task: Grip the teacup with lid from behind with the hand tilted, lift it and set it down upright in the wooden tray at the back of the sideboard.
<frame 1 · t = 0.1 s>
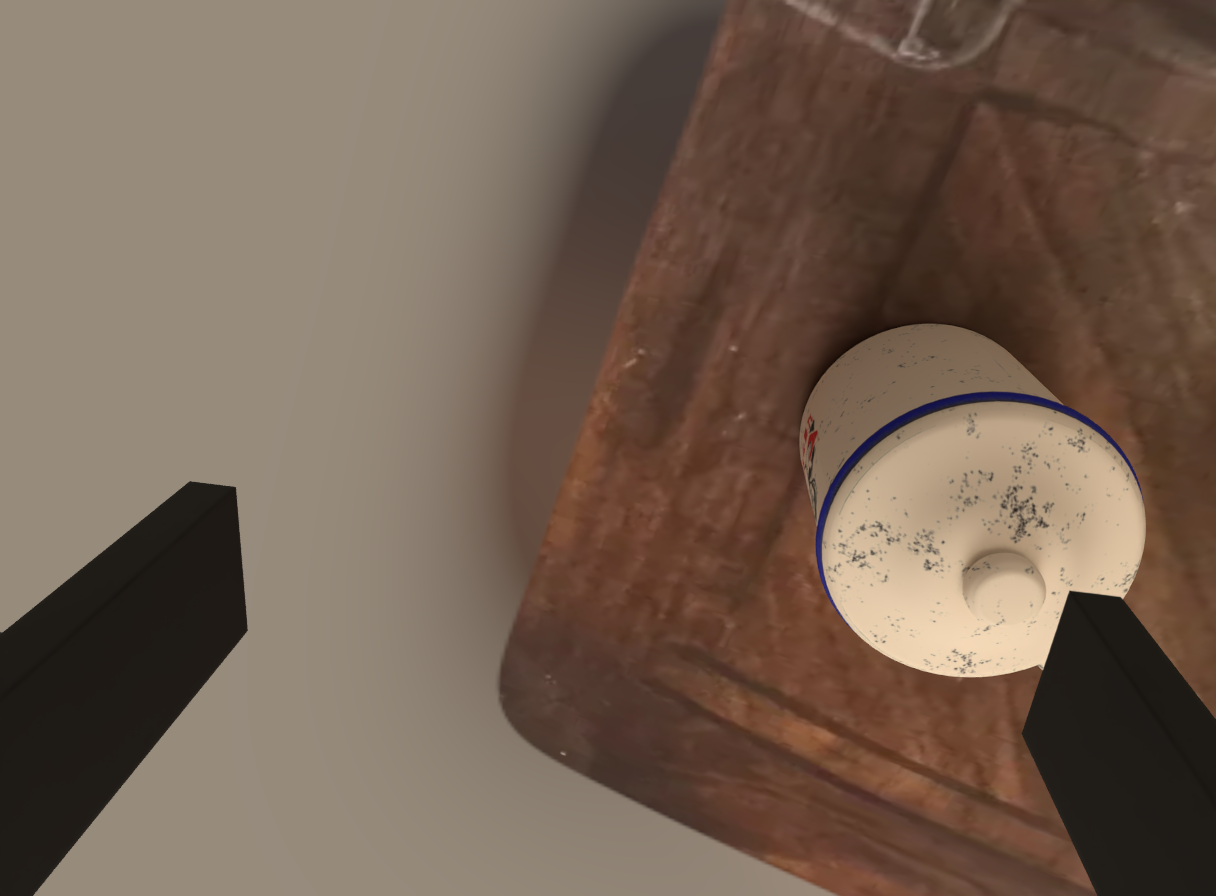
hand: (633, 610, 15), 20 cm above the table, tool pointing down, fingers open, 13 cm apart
teacup with lid: (933, 460, 35), on the table
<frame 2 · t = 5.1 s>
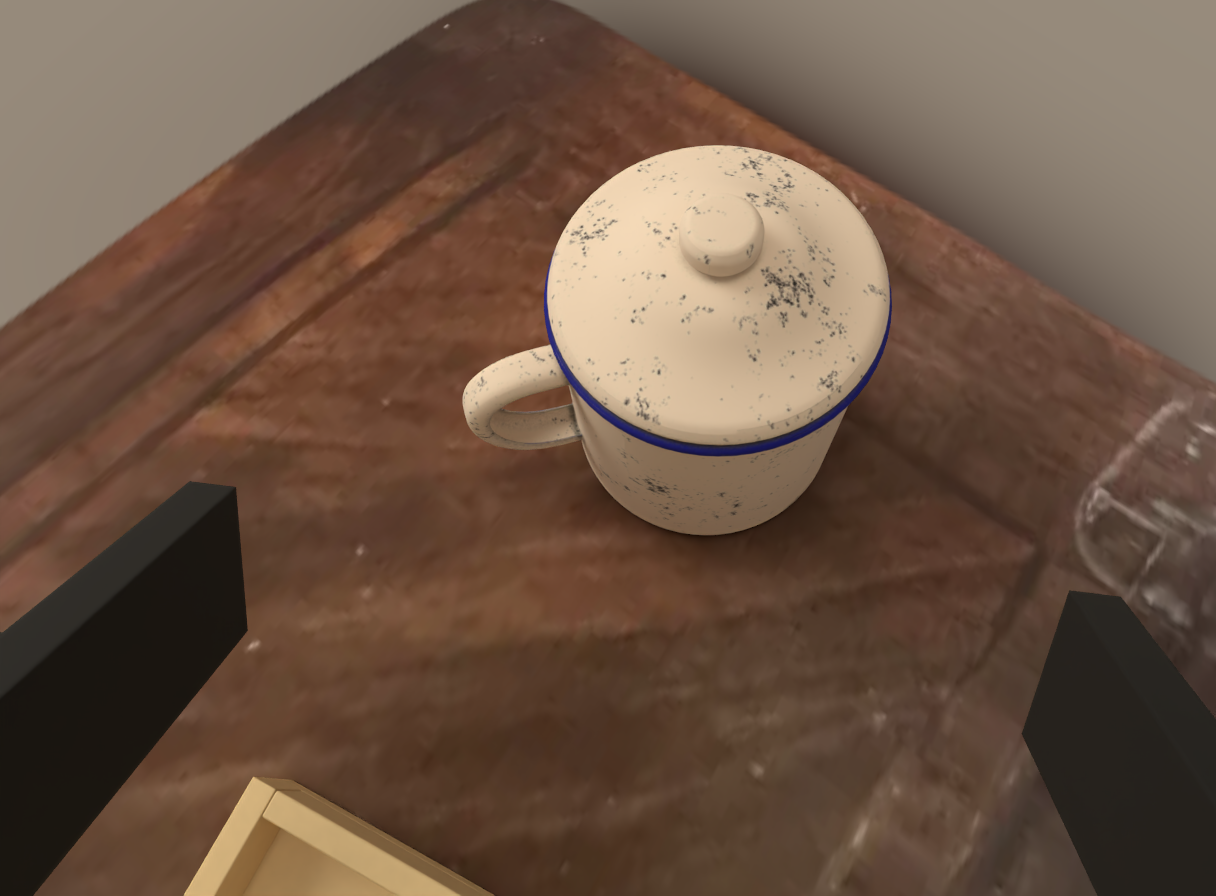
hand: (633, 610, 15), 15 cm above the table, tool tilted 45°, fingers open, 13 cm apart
teacup with lid: (663, 432, 32), on the table
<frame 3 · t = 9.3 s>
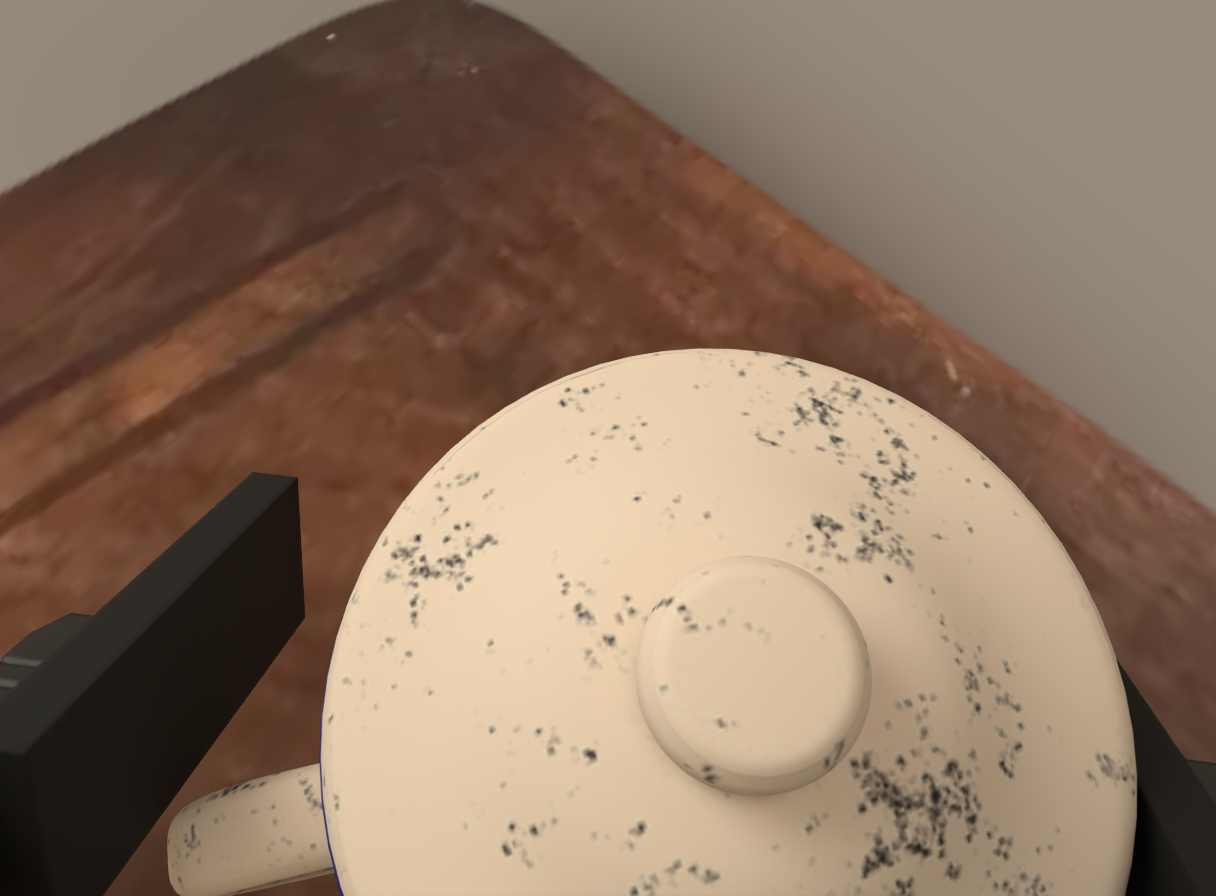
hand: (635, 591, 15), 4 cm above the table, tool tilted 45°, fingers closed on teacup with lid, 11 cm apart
teacup with lid: (606, 774, 18), on the table, touching gripper
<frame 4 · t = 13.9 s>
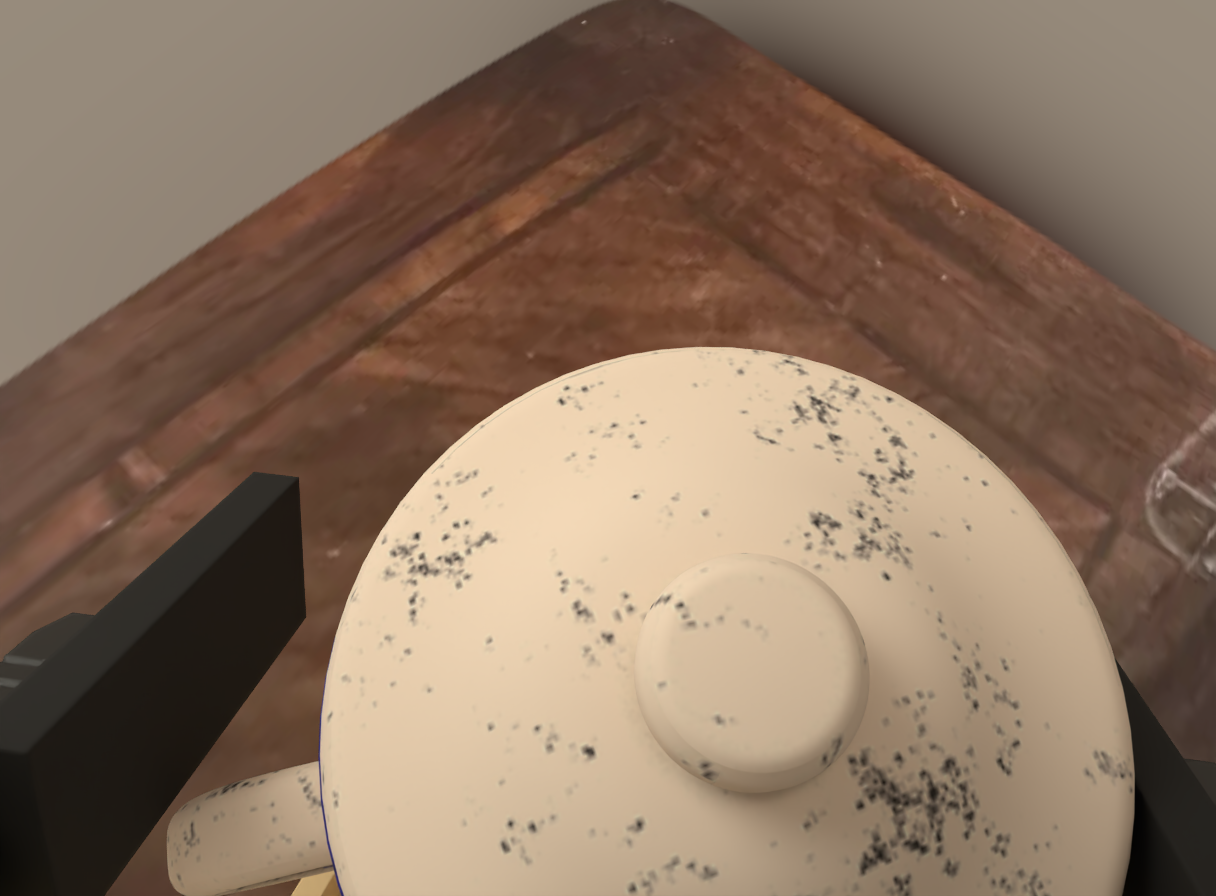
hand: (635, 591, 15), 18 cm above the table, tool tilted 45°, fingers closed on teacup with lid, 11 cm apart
teacup with lid: (605, 773, 18), point 13 cm above the table, touching gripper
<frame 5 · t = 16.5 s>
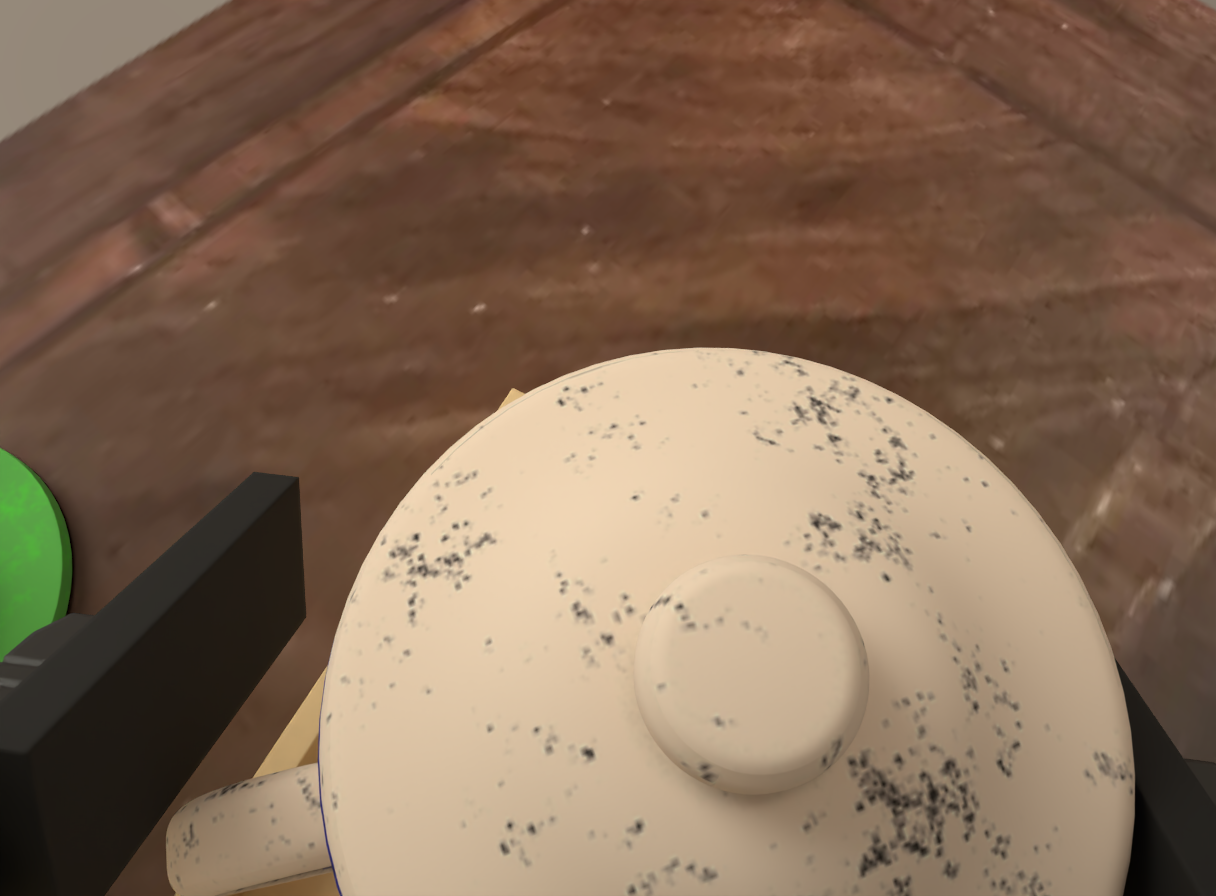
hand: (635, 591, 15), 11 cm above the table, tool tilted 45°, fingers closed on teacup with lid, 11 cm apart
wooden tray: (616, 784, 24), on the table
teacup with lid: (605, 774, 18), point 6 cm above the table, touching gripper
when the fingers open (5 cm above the table, at t = 18.8 s): teacup with lid stays where it is, resting on wooden tray.
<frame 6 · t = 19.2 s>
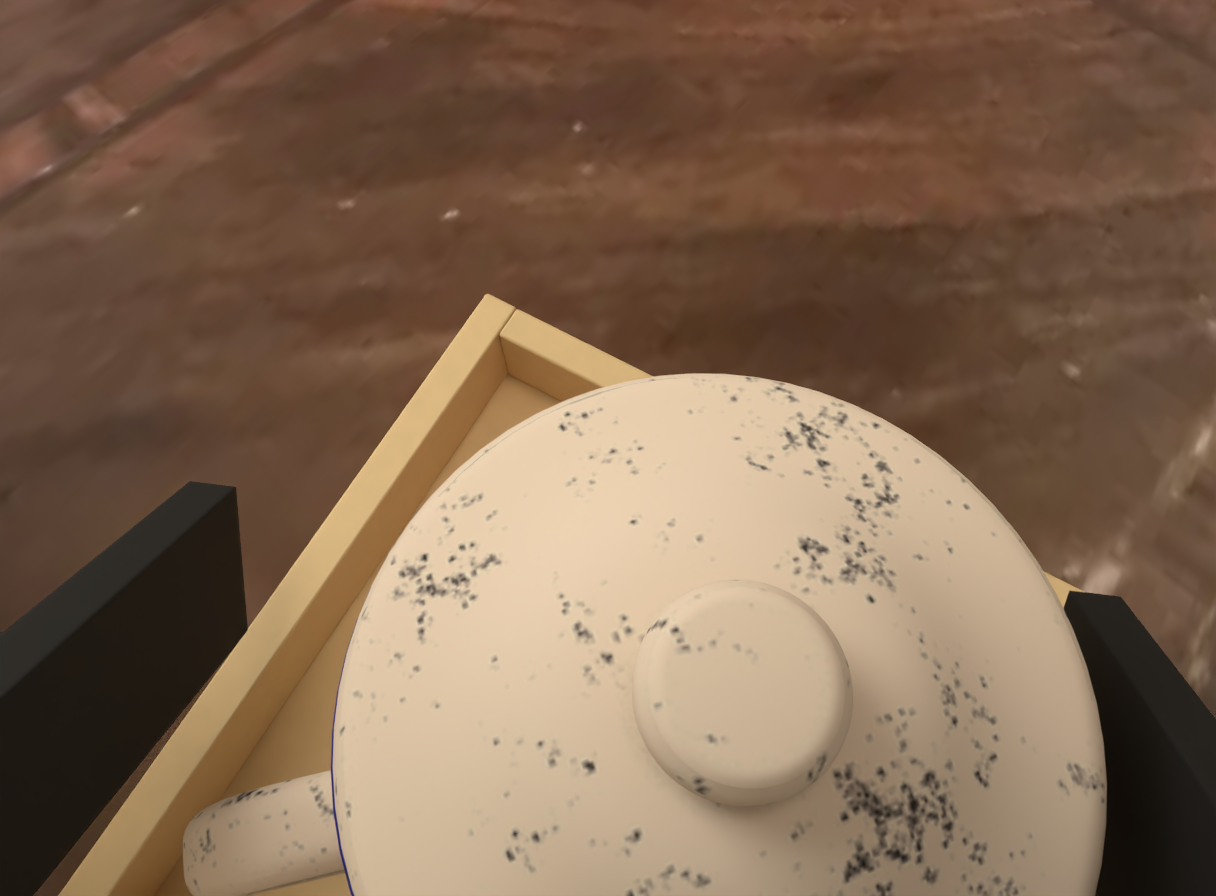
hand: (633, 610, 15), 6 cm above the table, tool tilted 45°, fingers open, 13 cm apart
wooden tray: (613, 780, 19), on the table
teacup with lid: (603, 778, 19), point 1 cm above the table, touching wooden tray
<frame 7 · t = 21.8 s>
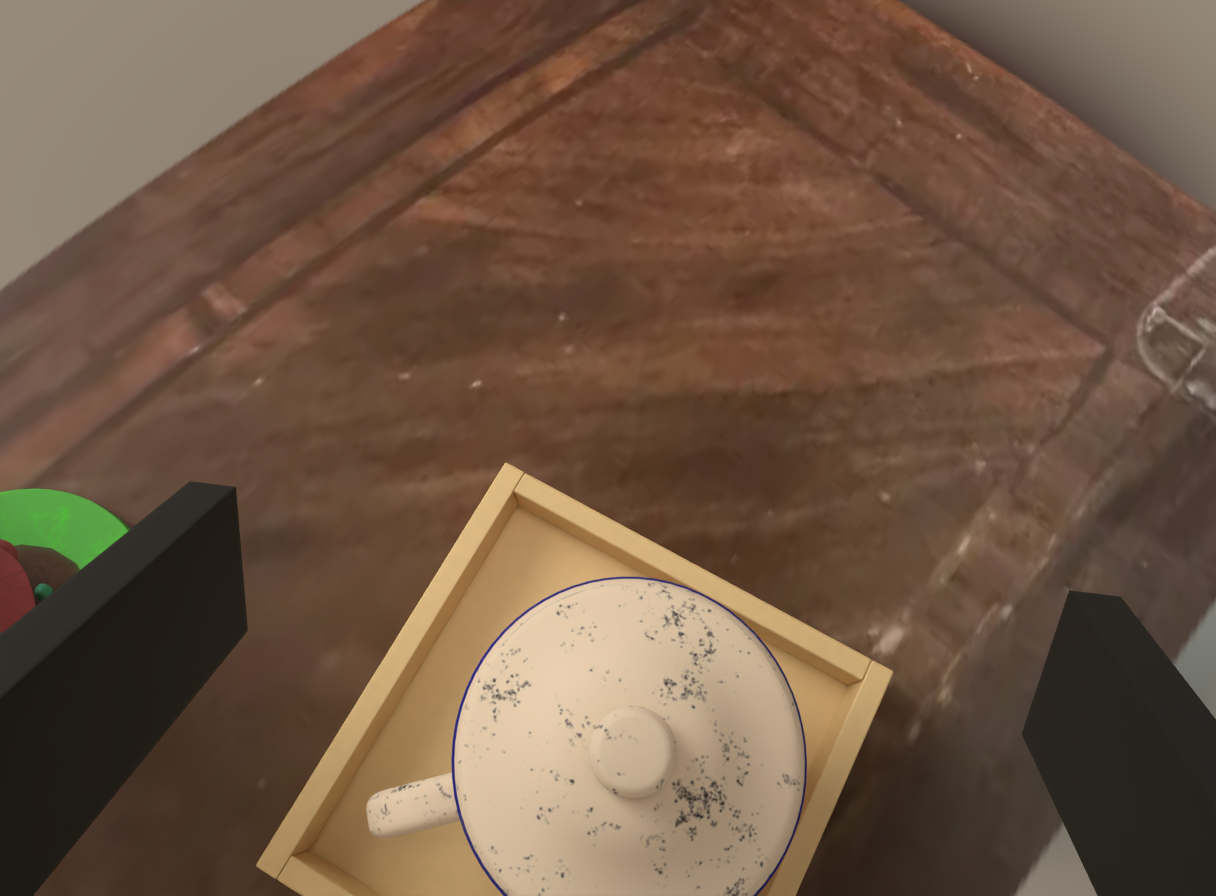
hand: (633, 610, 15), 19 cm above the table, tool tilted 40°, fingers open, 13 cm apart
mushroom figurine: (9, 623, 34), on the table
wooden tray: (587, 764, 32), on the table
teacup with lid: (580, 764, 32), point 1 cm above the table, touching wooden tray
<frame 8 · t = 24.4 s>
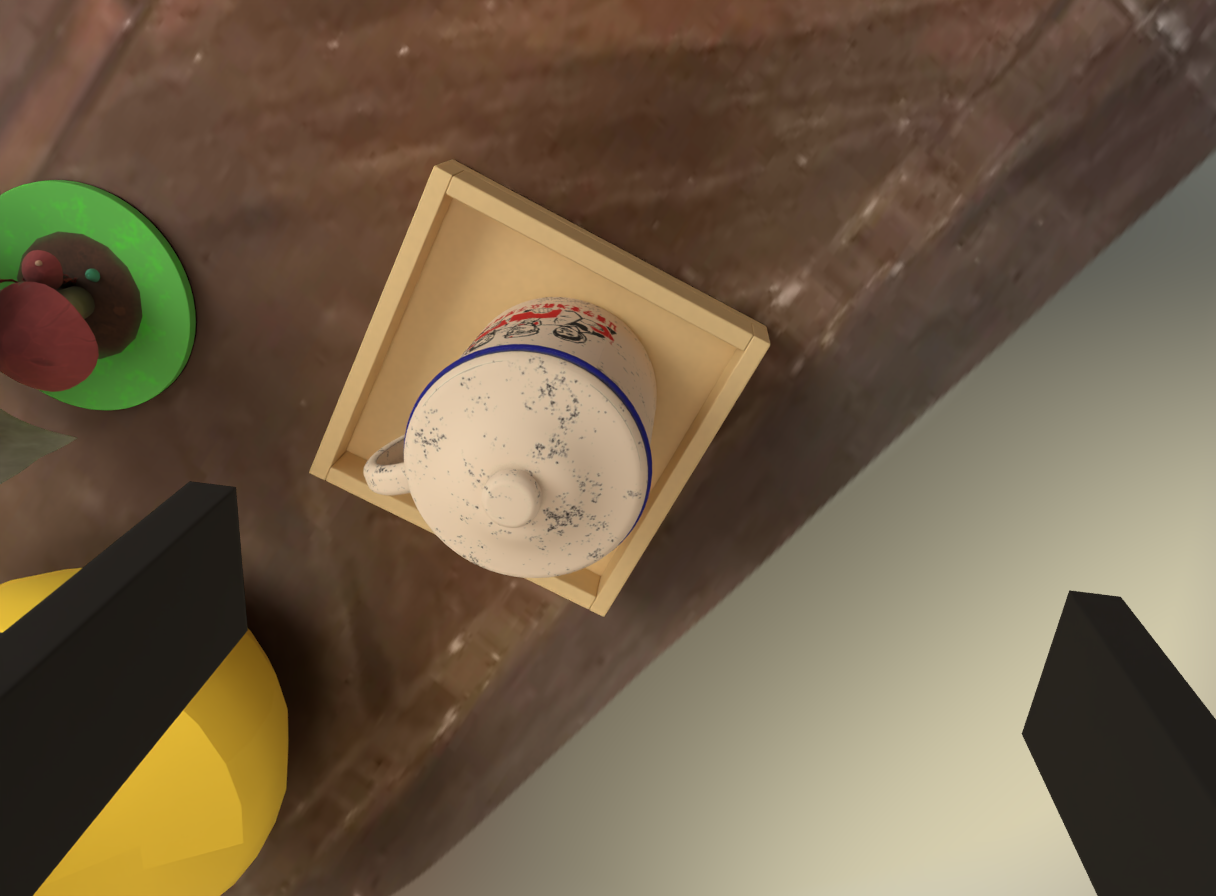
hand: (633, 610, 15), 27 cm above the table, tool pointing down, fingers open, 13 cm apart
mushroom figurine: (78, 289, 42), on the table
wooden tray: (537, 391, 42), on the table
teacup with lid: (531, 395, 41), point 1 cm above the table, touching wooden tray
vase: (175, 660, 50), on the table
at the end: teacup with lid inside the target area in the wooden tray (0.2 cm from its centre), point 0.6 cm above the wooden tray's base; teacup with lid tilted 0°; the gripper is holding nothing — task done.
